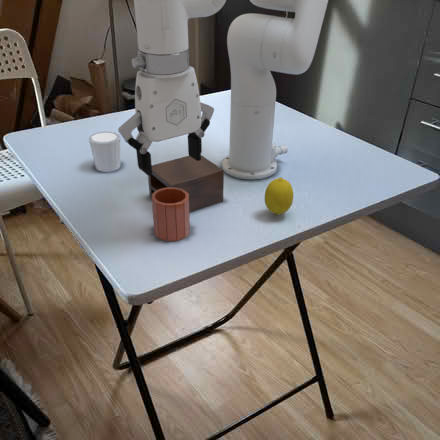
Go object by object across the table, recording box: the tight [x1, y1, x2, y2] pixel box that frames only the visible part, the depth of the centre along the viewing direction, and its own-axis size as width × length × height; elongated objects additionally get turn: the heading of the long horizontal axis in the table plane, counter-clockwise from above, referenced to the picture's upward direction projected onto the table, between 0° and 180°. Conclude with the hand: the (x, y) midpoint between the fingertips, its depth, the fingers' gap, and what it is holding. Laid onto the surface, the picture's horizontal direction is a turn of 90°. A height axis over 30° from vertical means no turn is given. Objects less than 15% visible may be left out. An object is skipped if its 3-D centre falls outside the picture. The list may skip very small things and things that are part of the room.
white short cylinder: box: [88, 131, 122, 173], centre depth 117 cm, size 7×7×7 cm
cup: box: [151, 187, 191, 242], centre depth 95 cm, size 7×7×8 cm
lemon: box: [264, 177, 294, 216], centre depth 101 cm, size 6×6×8 cm
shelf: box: [147, 154, 225, 213], centre depth 105 cm, size 12×10×7 cm
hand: (170, 164), depth 90 cm, fingers open, 9 cm apart
